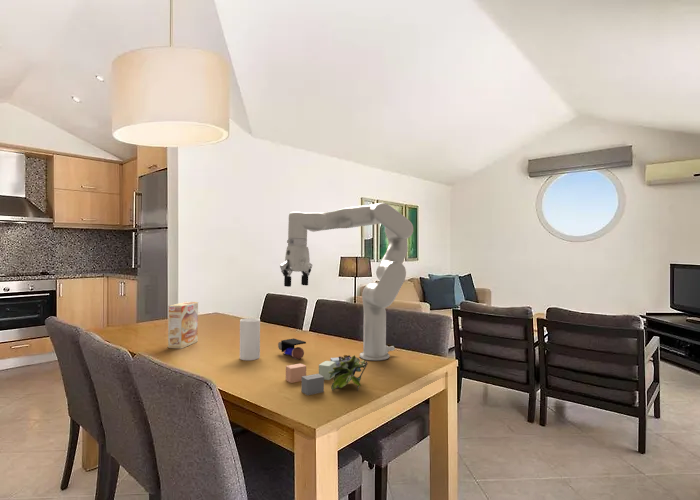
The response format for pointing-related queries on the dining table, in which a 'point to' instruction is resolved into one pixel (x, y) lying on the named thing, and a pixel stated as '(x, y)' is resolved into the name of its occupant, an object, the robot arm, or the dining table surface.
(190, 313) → the coffeecake box
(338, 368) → the passion flower
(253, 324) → the cup
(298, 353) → the figurine character
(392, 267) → the robot arm
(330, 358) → the slate-blue brick
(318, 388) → the charcoal brick
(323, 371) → the sage brick
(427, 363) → the dining table surface
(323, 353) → the dining table surface
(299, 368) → the terracotta brick
